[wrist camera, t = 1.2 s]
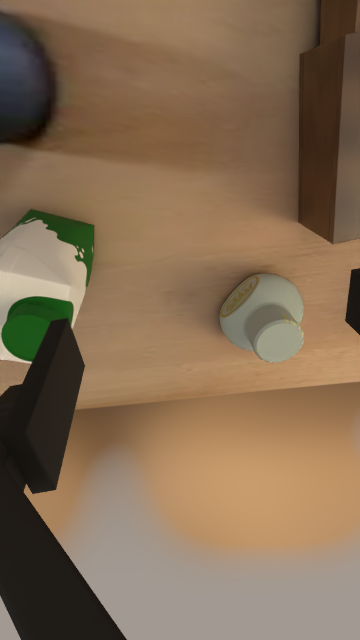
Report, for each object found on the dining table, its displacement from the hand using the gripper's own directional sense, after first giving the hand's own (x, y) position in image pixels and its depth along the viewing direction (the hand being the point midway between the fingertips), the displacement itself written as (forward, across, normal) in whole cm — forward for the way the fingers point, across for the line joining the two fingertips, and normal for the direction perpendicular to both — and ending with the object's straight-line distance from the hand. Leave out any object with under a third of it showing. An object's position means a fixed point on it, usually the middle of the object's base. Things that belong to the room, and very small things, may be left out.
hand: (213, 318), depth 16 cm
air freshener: (+28, +10, -15) cm, 33 cm away
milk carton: (+28, -14, -3) cm, 31 cm away
